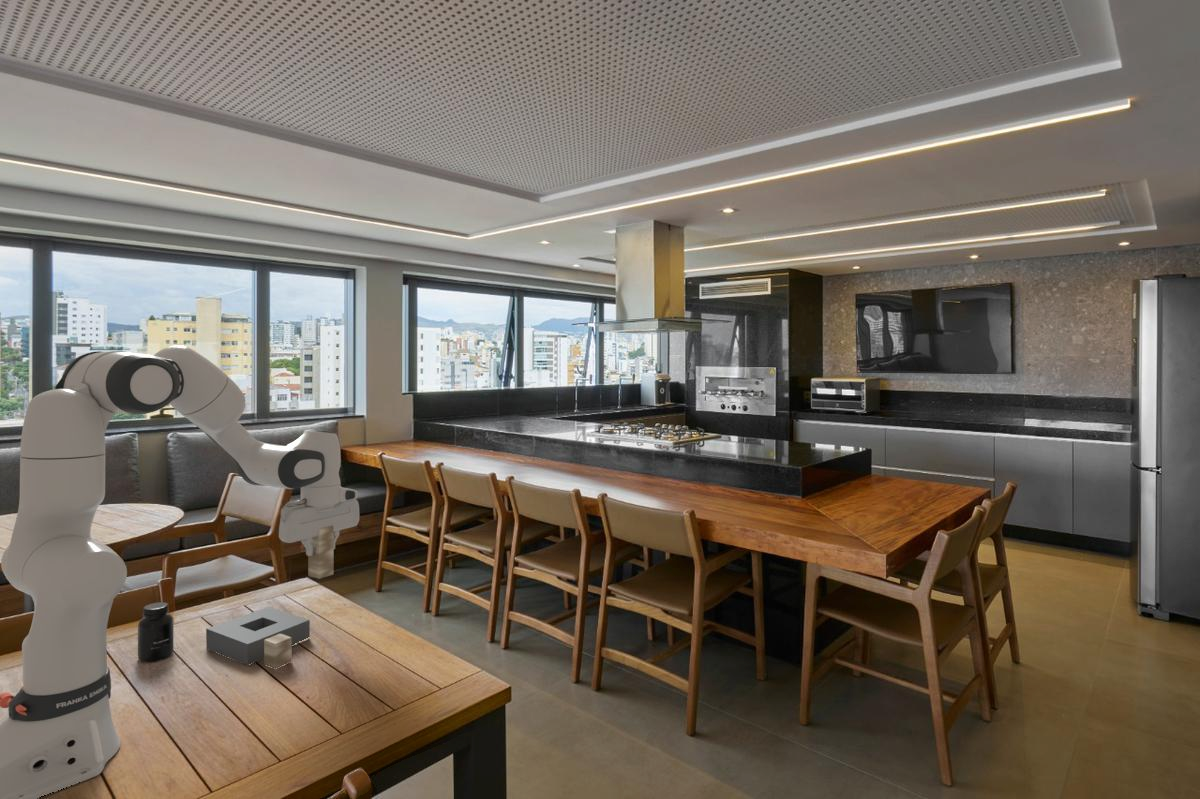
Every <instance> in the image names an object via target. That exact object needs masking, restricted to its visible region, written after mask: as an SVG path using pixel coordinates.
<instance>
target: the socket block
mask: <svg viewBox="0 0 1200 799" xmlns="http://www.w3.org/2000/svg"><path fill="white" fill-rule="evenodd" d="M310 627H311V626H310V619H308V618H305V617H303V616H299V615H295V614H292V613H289V612H286V611H285V610H284V611H283V610H280V609H278V608H274V607H271V606H267V607H264V608H261V609H259V610H255V611H253V612H250V613H247V614H245V615H242V616H241V615H240V616H238V617H236V618H233V619H230V620H227V621H223V622H222V623H221V622H220V623H218V624H216V625H212V626H210V627H207V628H205V629H206V632H205V633H206V634H205V637H206V641H205V642H206V643H205V644H206V650H208V649H209V650H208V651H210V650H212V651H211V652H213V651H215V652H217V653H216V654H218V653H219V654H218V655H220V654H221V655H220V656H222V655H224V656H223V657H225V656H226V658H227V657H229V658H228V659H230V658H231V659H230V660H232V659H234V660H233V661H235V660H236V661H235V662H237V661H238V663H240V662H242V663H244V664H243V665H245V664H247V665H248V666H250V665H249V664H251V663H253V662H255V663H257V662H256V661H258V660H260V661H262V660H264V659H263V658H264V640H265V639H268V638H270V637H273V636H275V635H278V634H283V635H286V636H289V637H291V640H292V645H294V644H295V643H297V642H299V641H302V640H304V639H306V638H308V637H310V632H311V631H310V630H311V628H310ZM310 638H311V637H310ZM215 652H214V653H215ZM261 659H262V660H261ZM258 662H259V661H258ZM242 663H241V664H242ZM253 664H254V663H253ZM247 665H246V666H247ZM251 665H252V664H251Z"/></svg>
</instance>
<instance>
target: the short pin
mask: <svg viewBox="0 0 1200 799" xmlns="http://www.w3.org/2000/svg"><path fill="white" fill-rule="evenodd" d="M292 648H293V647H292V640H291V637H289V636H286V635H283V634H278V635H275V636H273V637H270V638H268V639H265V640H264V659H263V661H264V665H267V666H270V667H272V668H275V669H276V668H278V667H280V666H282V665H284V664H287V663H289V662H291V661H292V662H293V659H292V658H293V657H292V656H293V655H292V654H293V653H292V650H293V649H292ZM267 666H266V667H267ZM272 668H271V669H272Z"/></svg>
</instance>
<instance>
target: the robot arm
mask: <svg viewBox="0 0 1200 799" xmlns="http://www.w3.org/2000/svg"><path fill="white" fill-rule="evenodd" d="M168 405H170V406H171V407H173V409H175V410H176V411H177V412H178V413H179V414H180V415H182V416H183V417H185V419H187V420H188V421H190V422H191V423H192V424H193V425H195V426H196V427H198V428H199V429H200V430H201V431H202V432H203V433H204V434H205V435H206V436H207V437H208V438H209V439H210V440H211V441H212V442H213V443H215V445H217V446H218V447H219V448H220V449H221V450H222V451H223V452H224V453H225V454H226V455H227V456H228V457H229V458H230V459H231V460H232V461H233V463H234V464H235V466H236V469H237V471H238V473H239V475H240V477H241V478H242V479H243V481H245V482H246V483H247V484H250V485H252V486H261V487H262V486H263V487H266V486H267V487H271V488H272V487H273V488H279V489H286V490H295V489H300V499H297V500H295V501H288V502H286V504H284V505H283V506H282V508H281V509H280V520H279V527H278V538H279V540H280V541H281V542H283V543H288V544H293V543H296V542H299V541H301V543H302V545H303V547H304V548H305V555H306V556H307V557H308V556H312V555H315V554H316V547H312V545H311V543H310V542H312V537H316V536H318V535H319V529H321V528H325V527H329V526H333V550H335V549H336V543H337V540H338V539H339V536H340V531H343V530H346V529H349V528H350V529H351V528H354V527H358V526H357V525H358V524H359V522H360V504H359V501H358V500H357V499H358V498H359V492H358V490H356V489H353V488H347V487H344V486H342V485H341V484H342V483H341V478H340V473H339V472H340V468H341V462H342V460H341V446H340V440H339V436H338V435H337V433H335V432H333V431H332V430H325V429H315V428H307V429H304V431H303V433H302V434H301V435H300V436H299V437H298V438H297V439H295V440H294V441H292V442H290V443H288V444H286V445H282V444H281V445H280V444H274V443H270V442H269V443H268V442H263V441H260V440H258V439H256V438H255V437H254V436H253V435H251V433H250V432H249V431H248V430H247V429H246V428H245V427H244V426H243V424H241V423H240V421H239V419H240V418H241V417H242V415H243V413H244V411H245V408H246V395H245V394H244V393H243V391H242V390H241V388H240V387H239V385H237V383H236V382H234V381H233V380H232V379H231V378H230V376H228V375H227V374H226V373H225V372H224V371H222V370H221V369H220V368H219V367H218V366H217V365H216V364H214V363H213V362H212V361H210V360H209V359H207V358H206V357H205V356H203V355H201V354H200V353H199V352H197V351H195V350H193V349H192V348H190V347H189V346H186V345H180V344H176V345H170V346H167V347H164V348H162V349H160V350H159V351H157V352H156V353H155V354H154V355H151V354H148V353H135V352H129V351H125V350H124V351H123V350H109V351H91V352H87V353H84V354H82V355H79V356H77V357H75V358H74V359H73V360H71V362H70V363H69V364H68V365H67V366H66V367H65V369H64V371H63V373H62V375H61V378H60V380H59V381H58V382H57V383H56V385H55V386H54V389H50V390H47V391H43V392H40V393H39V394H37V395H35V396H34V397H32V399H31V400H30V401H29V402H28V405H27V407H26V411H25V416H24V419H23V420H24V421H23V425H22V430H21V437H20V450H19V452H20V454H19V455H20V457H19V465H20V466H19V502H18V509H17V515H16V519H15V523H14V527H13V530H12V534H11V538H10V543H9V545H8V546H7V547H6V549H5V550H4V552H3V553H2V557H1V559H0V560H1V561H0V568H1V571H2V573H3V575H4V576H5V578H6V580H7V581H8V582H9V584H10V585H11V586H12V587H13V588H14V589H16V590H17V591H20V592H22V593H24V594H26V595H29V596H30V597H31V599H32V601H33V604H34V606H33V608H34V611H33V615H32V616H33V617H32V622H31V627H30V629H29V632H28V634H27V635H26V636H25V638H24V639H23V641H22V643H21V656H22V657H21V658H22V659H21V660H22V664H21V665H22V686H21V688H20V689H19V691H18V692H17V693H16V694H15V696H14V695H12V694H11V693H10V692H2V693H0V708H1V709H7V710H8V715H7V716H6V717H5V718H3V720H2V721H0V799H37V798H38V799H40V798H39V797H41V796H43V795H46V796H48V795H47V794H49V793H51V794H53V793H52V792H54V793H56V792H59V791H61V789H62V790H64V789H66V787H67V788H70V787H72V786H74V785H77V784H79V782H80V783H81V782H85V781H87V780H90V779H93V778H94V777H97V776H99V775H100V774H102V773H103V771H104V769H105V765H106V764H107V763H108V762H109V760H111V758H113V756H115V755H116V754H117V753H118V751H119V750H120V747H121V740H120V738H119V736H118V733H117V731H116V728H115V725H114V721H113V716H112V712H111V704H110V699H111V693H112V679H111V671H110V668H109V667H108V661H107V660H108V659H107V657H108V656H107V655H108V654H107V653H108V652H107V646H108V645H107V643H108V642H107V630H108V622H109V616H110V613H111V608H112V605H113V602H114V599H115V598H116V597H117V596H118V595H119V593H120V592H121V591H122V590H123V588H124V586H125V583H126V580H127V576H128V569H127V566H126V564H125V561H124V560H123V559H122V557H120V555H119V554H117V552H116V551H114V549H112V548H111V547H110V546H108V545H106V544H104V543H103V542H102V543H101V542H98V541H95V540H92V537H91V530H92V524H93V521H94V517H95V514H96V513H97V510H98V507H99V506H100V505H101V504H102V503H103V501H104V499H105V496H106V432H107V428H108V426H109V423H110V421H111V420H112V418H113V417H114V416H115V414H122V415H123V414H125V415H129V414H130V415H131V414H132V415H146V414H151V413H154V412H157V411H160V410H162V409H163V408H165V407H167V406H168ZM71 785H72V786H71ZM63 788H64V789H63ZM58 790H59V791H58ZM49 795H50V794H49ZM41 798H42V797H41Z"/></svg>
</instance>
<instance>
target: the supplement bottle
mask: <svg viewBox="0 0 1200 799" xmlns="http://www.w3.org/2000/svg"><path fill="white" fill-rule="evenodd" d="M174 623H175V622H174V617H173V615H172V614H170V613H169V603H168V602H165V601H164V602H163V601H161V602H160V601H159V602H153V603H148V604H146V605H145V606H143V609H142V618H141V619H139V621H138V622H137V659H138V661H140V662H141V663H154V662H159V661H162V660H166V659H168V658H169V657H171V656H172V655H173V653H174V639H175V638H174V636H175V635H174V633H175V632H174V629H175V628H174Z"/></svg>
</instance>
